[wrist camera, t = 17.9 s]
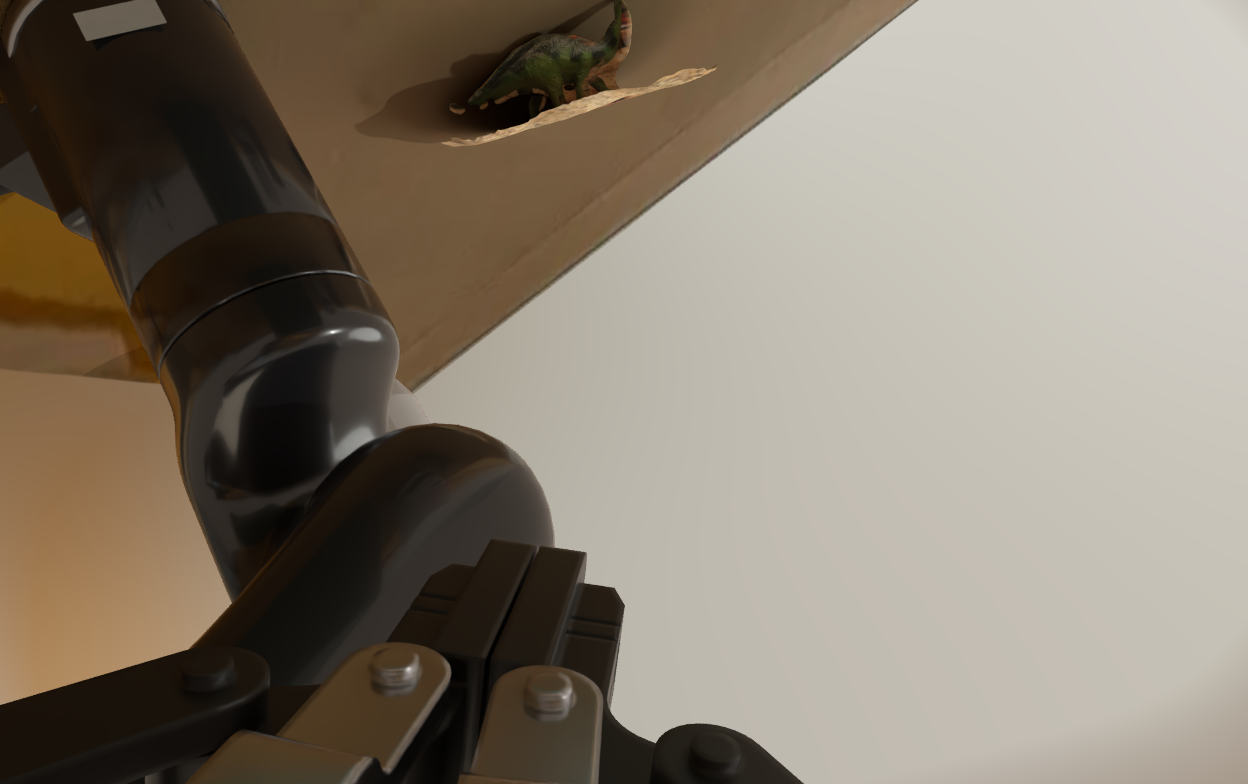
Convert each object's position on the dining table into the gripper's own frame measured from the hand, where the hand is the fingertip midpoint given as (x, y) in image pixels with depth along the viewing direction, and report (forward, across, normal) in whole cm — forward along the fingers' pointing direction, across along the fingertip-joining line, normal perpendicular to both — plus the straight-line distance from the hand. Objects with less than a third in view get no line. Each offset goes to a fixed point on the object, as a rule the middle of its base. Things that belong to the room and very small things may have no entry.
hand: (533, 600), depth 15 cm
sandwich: (+53, +10, -12) cm, 55 cm away
